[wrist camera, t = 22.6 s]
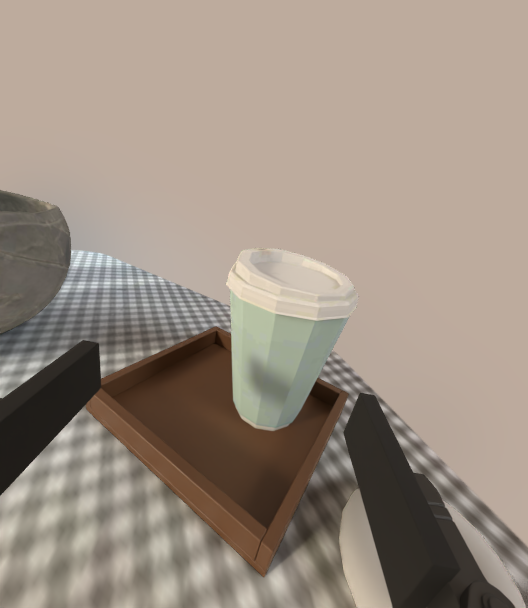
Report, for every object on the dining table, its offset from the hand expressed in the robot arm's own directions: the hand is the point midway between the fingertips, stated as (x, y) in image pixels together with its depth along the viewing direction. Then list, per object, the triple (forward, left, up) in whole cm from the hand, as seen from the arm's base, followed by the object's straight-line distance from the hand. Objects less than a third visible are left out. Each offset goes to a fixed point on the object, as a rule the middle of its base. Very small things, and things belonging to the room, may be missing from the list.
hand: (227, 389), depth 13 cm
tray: (+5, -8, -11) cm, 14 cm away
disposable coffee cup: (+2, -10, -10) cm, 15 cm away
